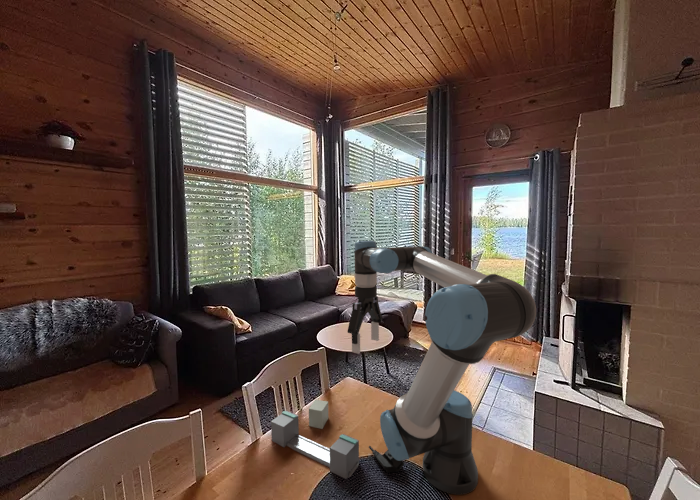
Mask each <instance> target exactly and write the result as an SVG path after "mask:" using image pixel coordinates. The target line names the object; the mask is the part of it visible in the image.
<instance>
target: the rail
mask: <svg viewBox="0 0 700 500" xmlns="http://www.w3.org/2000/svg"><path fill="white" fill-rule="evenodd" d="M285 447H289V448H290V449H292V450H293V451H295V452H297V453H299V454H301V455H304V456H305V457H307V458H310V459H311V460H313V461H315V462H318V463H319V464H321V465H323V466H325V467H328V468H329V469H330V447H327V446H324V445H322V444H320V443H318V442H316V441H313V440H311V439H309V438H307V437H305V436H302V435H300V434H296V435H295V436H294V437H293V438H292V439H291V440H289V441H287V442H286V446H285ZM359 463H360V461H359V462H358V461H357V462H356V464H355V465H354V467H353V468H352V469H351V470H350V471H349V472H348V478H351V476H352V475H353V474H354V473H355V471H356V470H357V469H358V468H359Z"/></svg>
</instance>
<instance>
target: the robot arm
mask: <svg viewBox="0 0 700 500" xmlns="http://www.w3.org/2000/svg"><path fill="white" fill-rule="evenodd" d="M353 253H354V285H355V287H354V296H355V298H357V302H353V303H352V309H351V314H350V319H349V323H348V327H347V330H346V331H347V333H348V334H351V353H354V354H357V355H359V354H361V333H359V332H360V330H361V327H362V324H363V321H364V318H365V317H366V316H367V314H368V315H369V316H370V319H371V322H370V330H371V331H370V332H371V333H370V335H371V336H370V337H371V339H370V340H372V341H376V342H377V341H380V339H379V337H380V327H379V326H380V323H382V318H383V316H382V312H381V308H380V305H379V297H378V295H377V294H378V289H377V288H378V287H377V284H378V282H377V281H378V277H377V273H379V274H391V273H392V272H398V271H399V272H400V271H413V272H415V273H417V274H419V275H420V276H422V277H425V278H426V279H428V280H430V281H432V282H433V283H435V284H437V285H439V286H441V288H439V289H437V291H435V292H434V293H433V295H432V296H431V297H430V298H429V300H428V301H427V305H426V308H425V317H426V319H425V326H426V330H427V333H428V335H429V339H430V340H431V343H430V345H429V347H428V350H426V351H427V352H426V354H425V356H424V358H423V360H422V362H421V364H420V367H419V368H418V370H417V373H416V374H415V377H414V379H413V380H412V383H411V386H410V388H409V389H408V392H407V393H405V394H402V395H401V396H399V398H398V399H397V401H396V403H395V405H394V407H393V408H392V409H386V410H385V411H382V412H381V413H380V414H381V415H380V418H379V422H380V423H379V425H380V430H381V434H382V435H381V436H382V438H383V441H384V443H385V446H386V448H387V450H389V452H390V454H391V455H392V456H393V458H394V459H396V460H398V461H402V460H403V461H406V460H410V459H411V458H414V457H416V456H419V455H423V457H422V470H423V472H422V473H423V475H424V478H425V479H426V480H427V481H428V482H429V483H430V484H431V485H432V486H433V487H435V488H436V489H438V490H439V491H442V492H445V494H446V493H447V494H450V495H466V494H468V493H471V492H473V491H474V490H475V489H476V488H477V486H478V482H479V471H478V466H477V464H476V460H475V457H474V453H473V451H472V450H473V449H472V447H473V443H472V442H473V440H472V439H473V417H474V415H473V405H472V402H471V400H470V399H469V398H468V397H467V396H466V395H464V394H463V393H461V392H460V391H457V390H455V389H456V388H457V386H458V384H459V383H460V381H461V379H462V377H463V376H464V374H465V372H466V370H467V369H468V367H469V366H470V365H473V364H478V363H479V362H481V361H482V360H483V359H484V357H485V355H486V354H487V352H488V351H489V349H490V347H491V346H492V345H493V344H494V343H496V342H499V341H505V340H508V339H514V338H518V337H520V336H521V335H524V334H525V333H526V332H528V331H529V330H530V329H531V328H532V326H533V324H534V323H535V320H536V316H537V305H536V302H535V299H534V297H533V295H532V294H531V293H530V291H529V290H528V289H527V288H526V287H525V286H523V285H521V283H518V282H517V281H514V280H512V279H510V278H507V277H504V276H501V275H499V274H496V273H491V274H490V273H489V274H486V273H482V272H480V271H477V270H475V269H472V268H470V267H468V266H464V265H463V264H460V263H457V262H454V261H452V260H449V259H447V258H444V257H442V256H440V255H438V254H435V253H434V252H433V251H432V249H431V248H430V247H429V246H420V245H418V246H402V247H397V246H394V247H377V242H376V241H375V240H357V241H355V242H354V251H353Z"/></svg>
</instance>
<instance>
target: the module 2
mask: <svg viewBox="0 0 700 500" xmlns="http://www.w3.org/2000/svg"><path fill="white" fill-rule="evenodd" d="M328 420H329V401H327V400H320V399H315V400H314V401H313V402H312V403H311V405H310V407H308V426H309V427H311V428H316V429H321V430H323V429H324V427H325V425H326V424H327V421H328Z"/></svg>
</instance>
